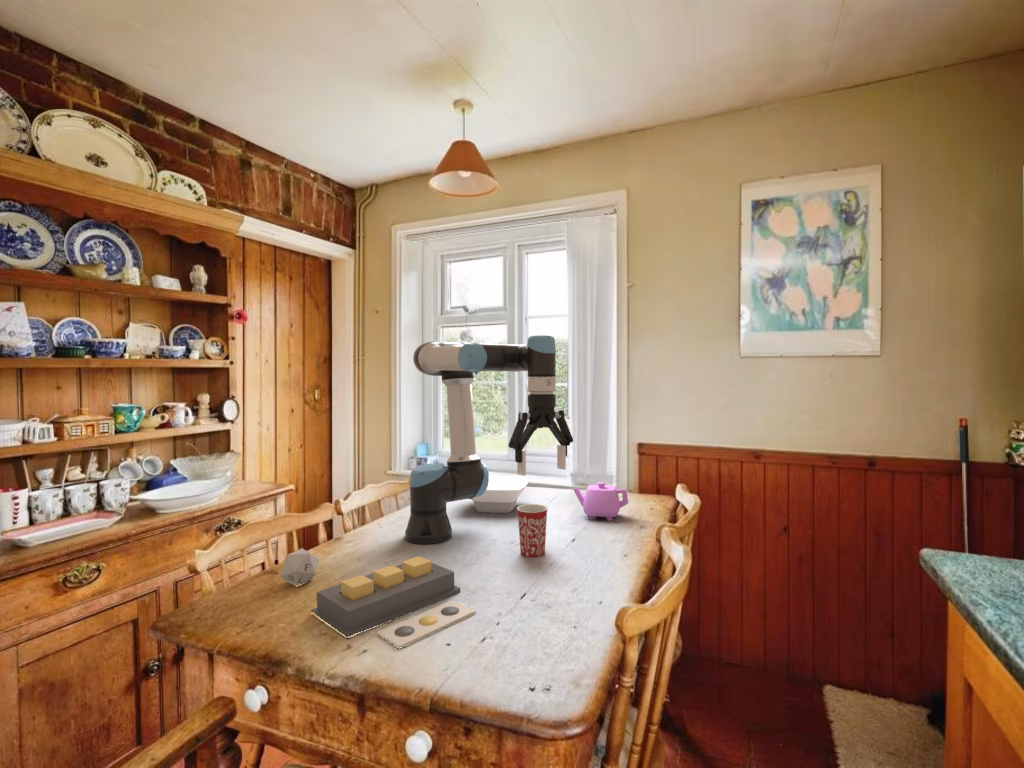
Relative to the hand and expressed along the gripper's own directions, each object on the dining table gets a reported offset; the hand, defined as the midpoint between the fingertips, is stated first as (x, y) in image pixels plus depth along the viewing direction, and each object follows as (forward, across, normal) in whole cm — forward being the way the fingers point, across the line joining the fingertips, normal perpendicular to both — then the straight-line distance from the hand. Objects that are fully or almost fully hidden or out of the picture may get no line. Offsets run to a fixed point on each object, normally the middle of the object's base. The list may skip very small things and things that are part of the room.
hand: (542, 471), depth 137 cm
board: (+27, -41, +5) cm, 50 cm away
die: (+27, -56, +30) cm, 69 cm away
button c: (+23, -34, +7) cm, 41 cm away
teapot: (+27, +49, +28) cm, 62 cm away
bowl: (+27, +24, +61) cm, 71 cm away
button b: (+23, -41, +5) cm, 48 cm away
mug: (+27, +7, +13) cm, 31 cm away
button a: (+23, -49, +4) cm, 55 cm away
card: (+27, -38, -10) cm, 48 cm away
